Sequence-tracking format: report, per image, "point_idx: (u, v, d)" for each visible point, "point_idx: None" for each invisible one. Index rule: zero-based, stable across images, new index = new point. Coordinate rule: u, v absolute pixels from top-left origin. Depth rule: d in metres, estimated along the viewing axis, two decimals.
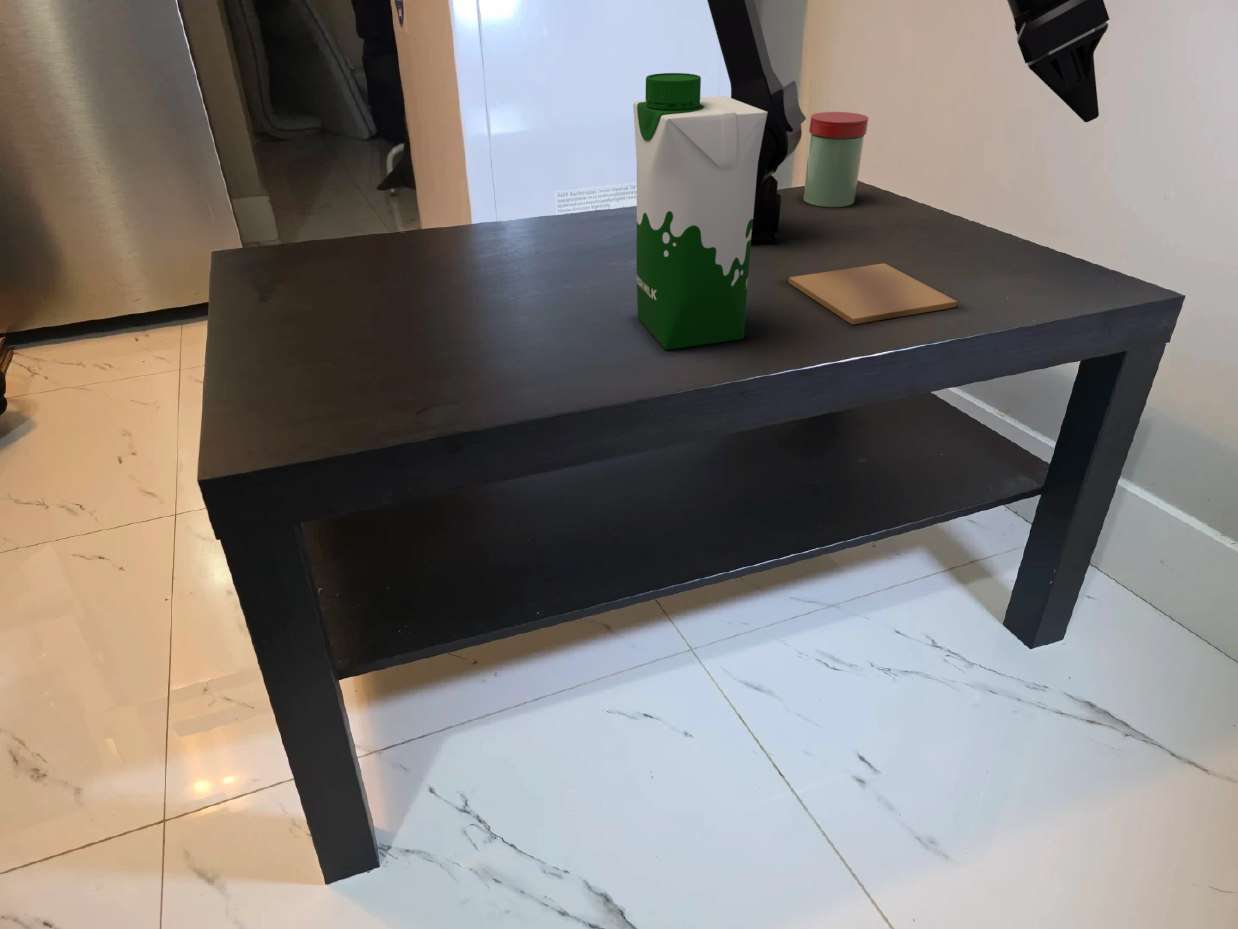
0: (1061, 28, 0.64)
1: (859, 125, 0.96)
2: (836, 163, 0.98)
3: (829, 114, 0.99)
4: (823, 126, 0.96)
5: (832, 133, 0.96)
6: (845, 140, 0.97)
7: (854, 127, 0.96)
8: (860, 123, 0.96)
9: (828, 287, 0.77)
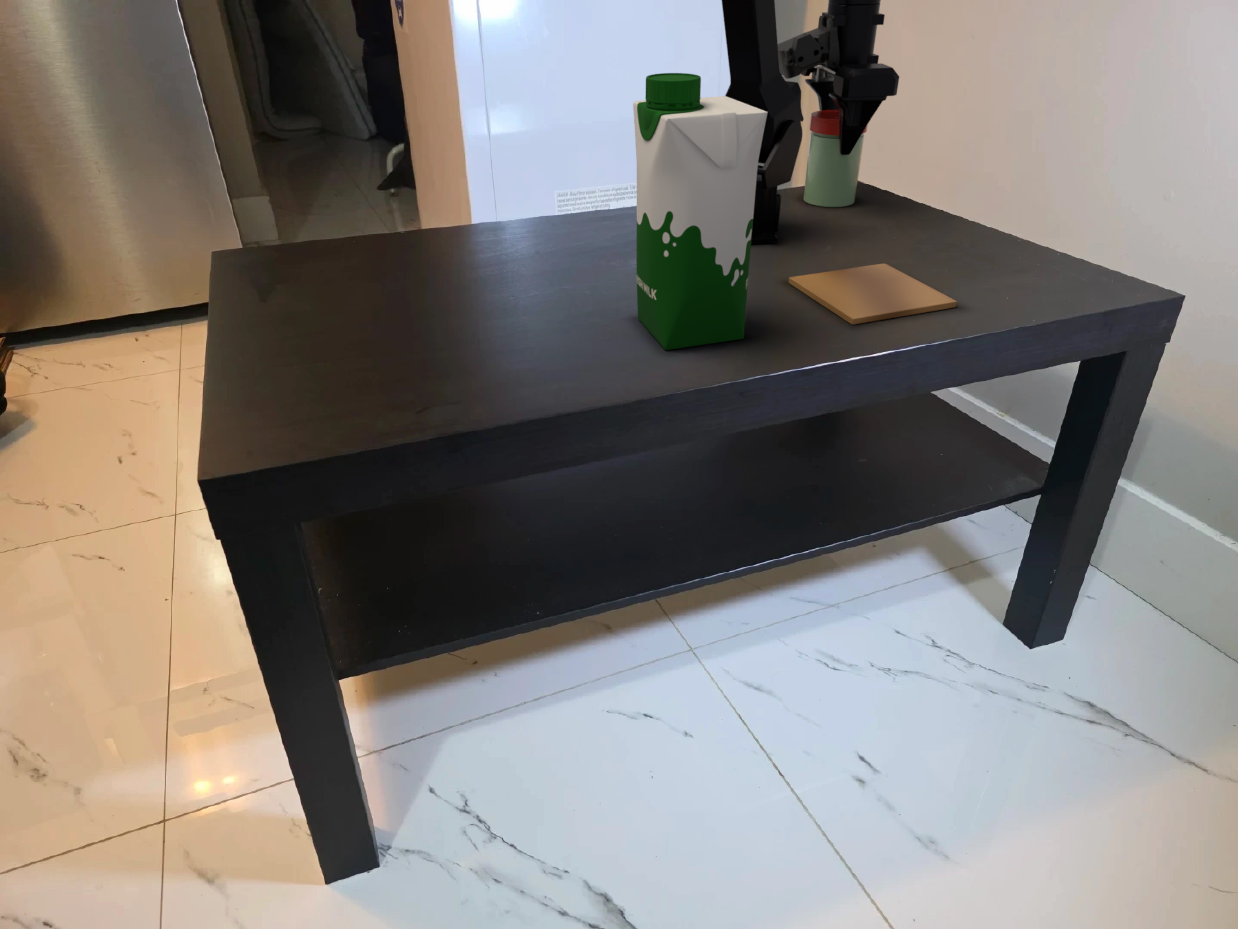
0: None
1: None
2: (836, 163, 0.98)
3: (827, 116, 0.97)
4: None
5: (866, 127, 0.98)
6: None
7: None
8: None
9: (828, 287, 0.77)
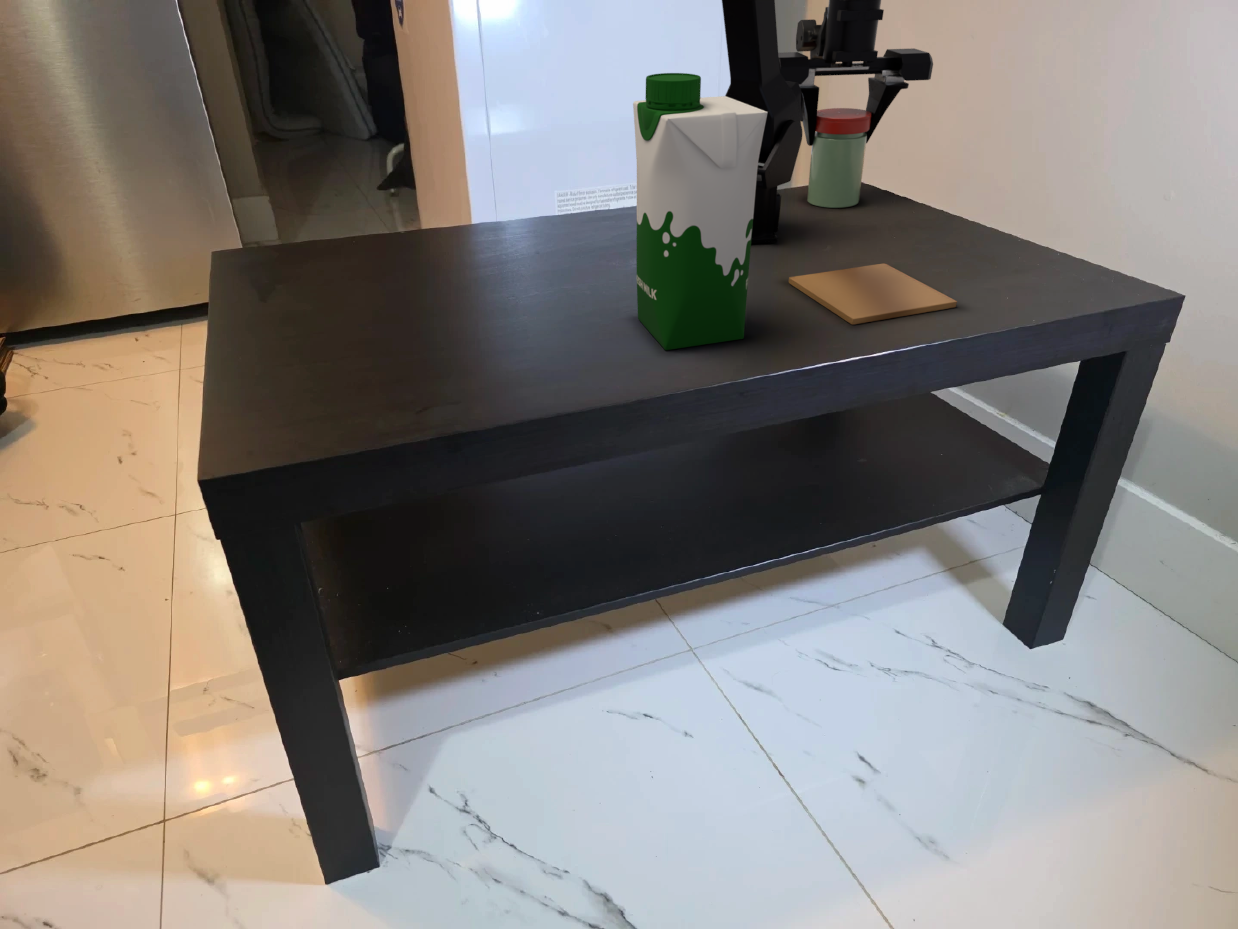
0: None
1: None
2: (850, 162, 0.98)
3: (852, 115, 0.96)
4: None
5: None
6: (858, 139, 0.96)
7: None
8: None
9: (828, 287, 0.77)
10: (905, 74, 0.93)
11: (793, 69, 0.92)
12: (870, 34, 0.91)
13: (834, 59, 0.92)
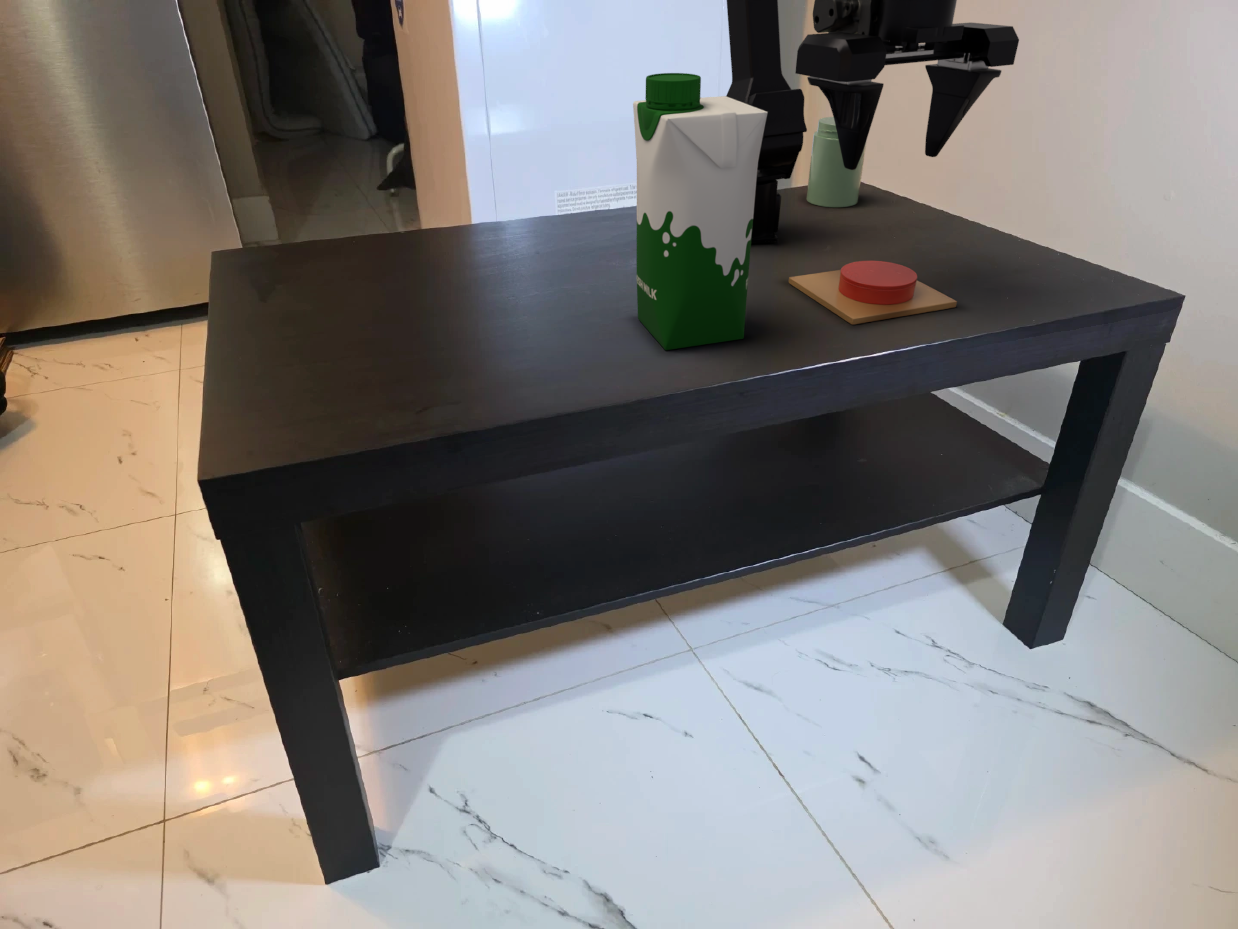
0: None
1: None
2: (863, 159, 0.99)
3: (897, 277, 0.74)
4: None
5: None
6: None
7: None
8: None
9: (828, 287, 0.77)
10: (991, 57, 0.66)
11: (867, 57, 0.60)
12: (955, 0, 0.62)
13: (911, 39, 0.62)
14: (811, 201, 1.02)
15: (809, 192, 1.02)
